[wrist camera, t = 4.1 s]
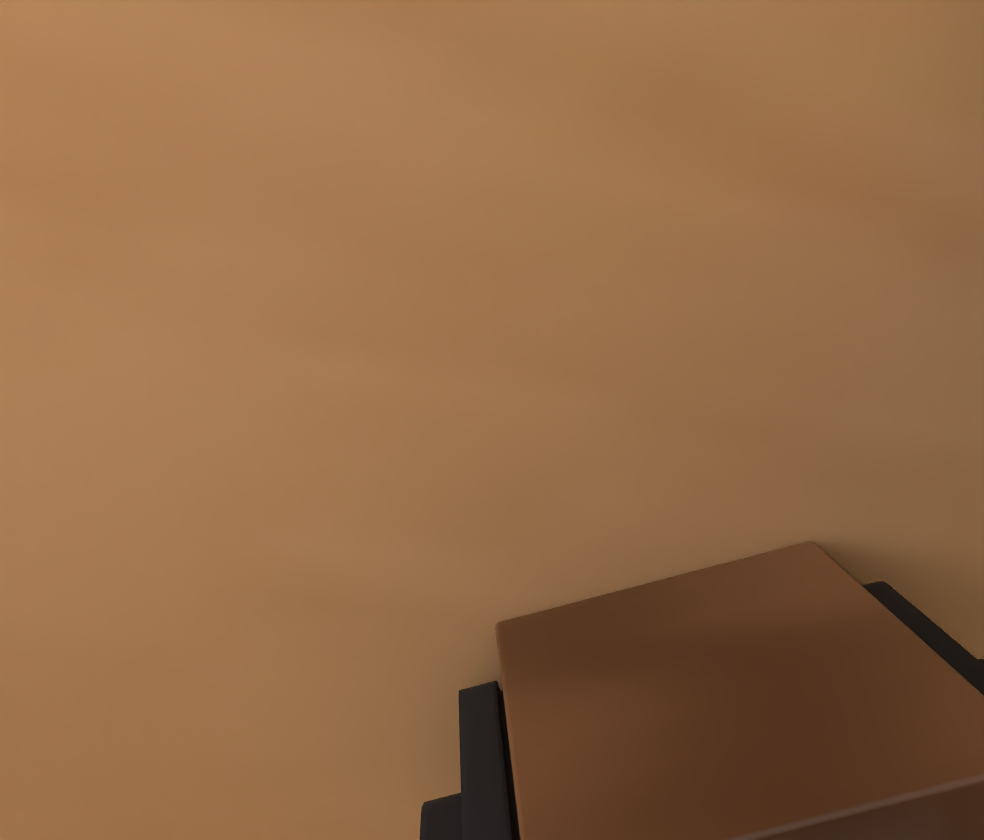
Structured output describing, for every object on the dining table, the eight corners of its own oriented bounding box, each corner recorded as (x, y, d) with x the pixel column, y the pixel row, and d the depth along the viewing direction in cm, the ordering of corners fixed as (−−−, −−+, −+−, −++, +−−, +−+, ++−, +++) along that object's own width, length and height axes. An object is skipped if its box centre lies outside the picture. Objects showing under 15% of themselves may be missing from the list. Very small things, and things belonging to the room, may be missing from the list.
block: (567, 877, 12) (636, 1255, 8) (494, 621, 11) (525, 895, 6) (855, 804, 12) (1087, 1141, 7) (812, 538, 11) (1059, 758, 6)
